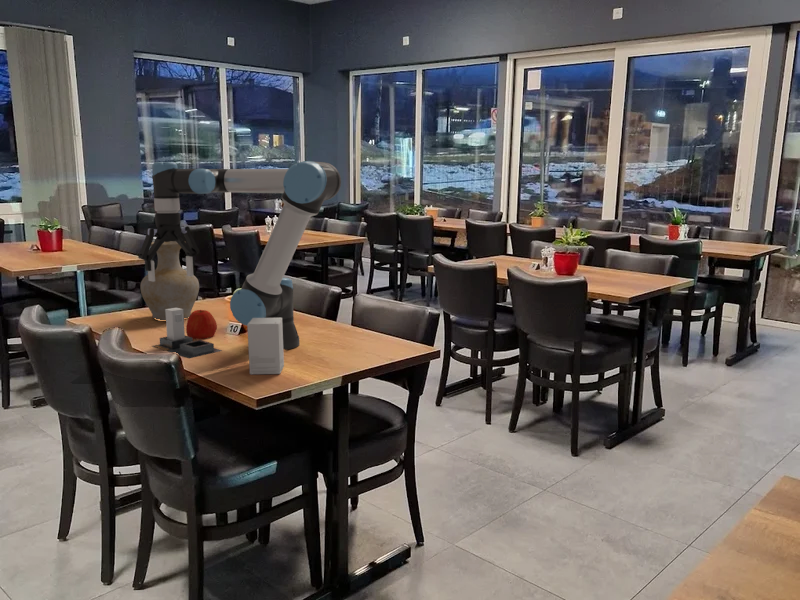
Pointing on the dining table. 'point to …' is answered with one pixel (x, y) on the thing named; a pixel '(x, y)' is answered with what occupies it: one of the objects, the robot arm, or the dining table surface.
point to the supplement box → (265, 345)
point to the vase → (169, 284)
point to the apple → (201, 325)
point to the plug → (175, 324)
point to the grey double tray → (187, 347)
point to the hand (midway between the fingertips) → (171, 278)
